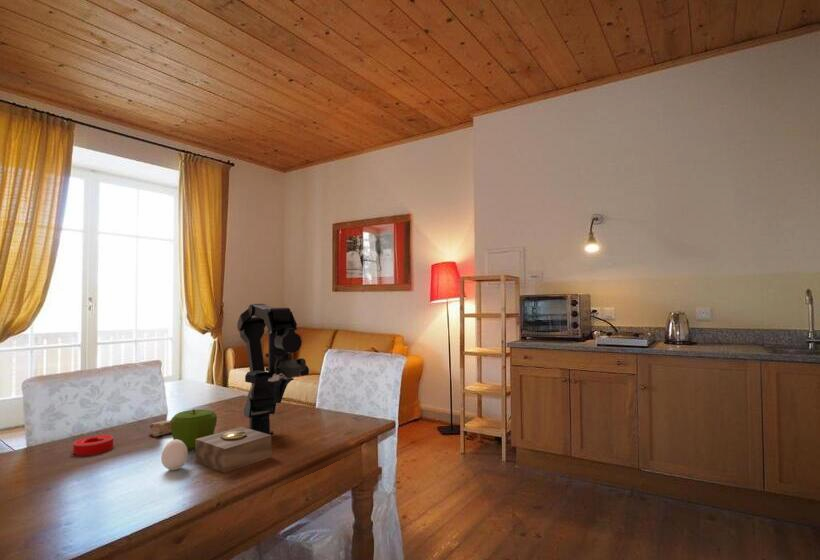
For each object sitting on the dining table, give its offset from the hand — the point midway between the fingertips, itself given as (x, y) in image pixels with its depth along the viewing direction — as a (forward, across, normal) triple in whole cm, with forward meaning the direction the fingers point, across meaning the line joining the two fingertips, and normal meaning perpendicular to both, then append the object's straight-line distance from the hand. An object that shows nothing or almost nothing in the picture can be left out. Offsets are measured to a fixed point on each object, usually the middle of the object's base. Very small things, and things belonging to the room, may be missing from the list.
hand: (278, 402), depth 133 cm
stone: (+14, -13, +42) cm, 46 cm away
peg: (+13, -13, +2) cm, 19 cm away
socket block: (+13, -13, +2) cm, 19 cm away
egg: (+13, -26, +7) cm, 30 cm away
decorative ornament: (+14, -34, +43) cm, 56 cm away
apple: (+13, -15, +20) cm, 29 cm away
